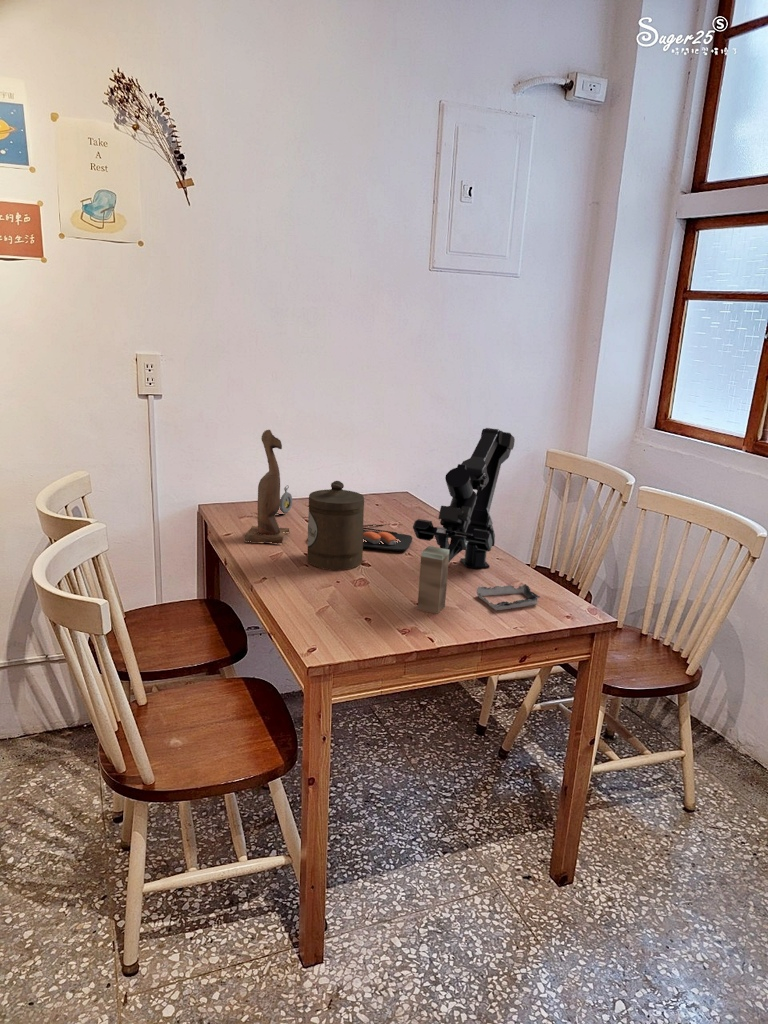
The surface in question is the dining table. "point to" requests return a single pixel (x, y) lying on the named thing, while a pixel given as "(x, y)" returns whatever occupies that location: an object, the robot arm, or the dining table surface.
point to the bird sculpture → (268, 498)
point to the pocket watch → (285, 501)
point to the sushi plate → (385, 539)
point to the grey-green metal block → (433, 579)
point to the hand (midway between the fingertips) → (442, 565)
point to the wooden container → (335, 528)
